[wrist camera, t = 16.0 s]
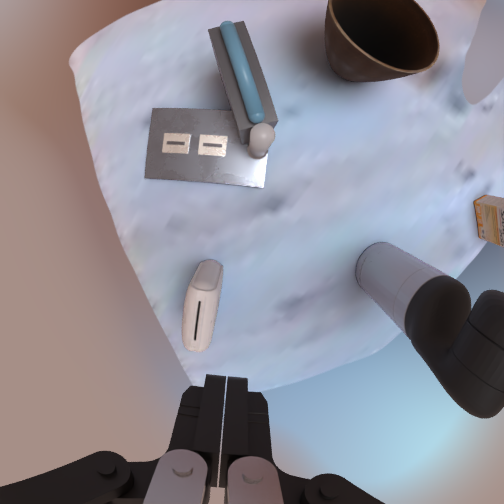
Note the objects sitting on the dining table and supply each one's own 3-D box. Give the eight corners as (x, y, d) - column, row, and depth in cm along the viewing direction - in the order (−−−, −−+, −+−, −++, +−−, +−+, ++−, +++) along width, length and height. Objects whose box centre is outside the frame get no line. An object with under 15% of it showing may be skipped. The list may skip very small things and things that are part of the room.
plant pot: (291, 78, 38) (313, 32, 22) (318, 14, 34) (344, -38, 19) (376, 117, 39) (431, 96, 24) (395, 51, 36) (443, 17, 20)
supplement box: (472, 201, 43) (518, 211, 30) (485, 194, 42) (530, 202, 30) (478, 239, 45) (521, 255, 32) (490, 230, 44) (533, 245, 32)
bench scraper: (273, 153, 39) (287, 140, 25) (246, 160, 39) (245, 151, 25) (244, 62, 35) (243, 13, 21) (218, 68, 36) (205, 23, 22)
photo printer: (216, 318, 47) (208, 361, 35) (192, 314, 47) (176, 355, 35) (226, 261, 45) (219, 292, 33) (199, 256, 45) (183, 285, 33)
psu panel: (271, 116, 39) (272, 114, 38) (263, 187, 42) (263, 187, 41) (155, 109, 39) (152, 107, 37) (147, 178, 41) (143, 178, 40)
